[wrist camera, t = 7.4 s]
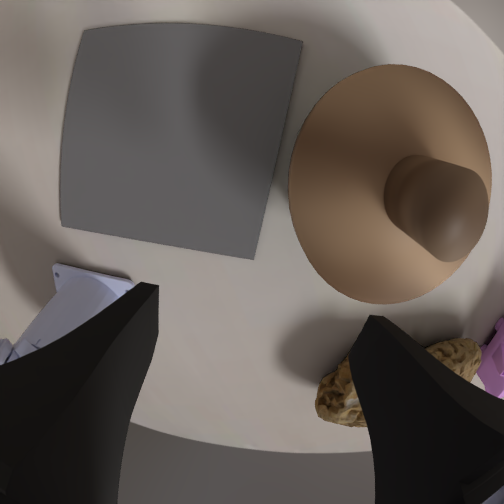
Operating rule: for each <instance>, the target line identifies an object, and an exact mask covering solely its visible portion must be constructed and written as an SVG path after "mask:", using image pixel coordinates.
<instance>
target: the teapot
mask: <svg viewBox="0 0 504 504" xmlns="http://www.w3.org/2000/svg"><path fill="white" fill-rule="evenodd" d="M495 329H496V331H497V333H496V334H495V336H494V337H493V339H492V340H491V342H490V343H489V345H488V346H487V345H486V344H485V345H483V346H481V347H480V349H481V352H482V355H481V360H482V361H481V364H480V366H479V367H478V370H477V371H476V373H477V375H478V376H479V378H480V379H481V381H482V382H483V384H484V385H485V391H486V392H488V393H490V394H492V395H494V396H496V397H498V398H501V397H504V319H503V318H500V319H499V320H498V322H497V323H496V325H495Z"/></svg>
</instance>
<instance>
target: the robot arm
mask: <svg viewBox="0 0 504 504" xmlns="http://www.w3.org/2000/svg"><path fill="white" fill-rule="evenodd" d="M52 270H53V276H54V281H55V287H56V292H57V293H56V294H55V295H54V296H53V297H52V298H51V300H50V301H49V302H48V303H47V304H46V305H45V307H44V308H43V309H42V310H41V311H40V313H39V314H38V315H37V316H36V317H35V319H34V320H33V321H32V322H31V324H30V325H29V326H28V327H27V329H26V330H25V331H24V333H23V334H22V335H21V337H20V338H19V339H18V340H17V342H16V343H15V344H14V345H12V343H11V342H10V341H9V340H8V339H7V338H5V339H0V504H117V499H118V488H119V478H120V470H121V462H122V457H123V451H124V446H125V440H126V435H127V431H128V426H129V422H130V419H131V415H132V412H133V409H134V406H135V403H136V401H137V398H138V395H139V392H140V390H141V387H142V384H143V382H144V379H145V376H146V374H147V371H148V368H149V366H150V363H151V360H152V357H153V353H154V349H155V345H156V341H157V337H158V334H159V330H158V308H159V285H155V284H150V283H145V282H140V283H139V284H137V285H136V286H134V283H133V282H132V281H131V280H129V279H124V278H120V277H115V276H110V275H106V274H101V273H97V272H93V271H88V270H84V269H80V268H76V267H72V266H68V265H64V264H60V263H55V264H54V265H53V267H52ZM58 274H59V275H58ZM127 290H129V291H127ZM348 360H349V366H350V371H351V376H352V381H353V384H354V387H355V390H356V393H357V396H358V399H359V402H360V405H361V408H362V412H363V415H364V418H365V421H366V424H367V427H368V431H369V435H370V440H371V446H372V453H373V459H374V471H375V504H504V400H503V399H500V398H498V397H496V396H494V395H492V394H490V393H488V392H486V391H484V390H482V389H480V388H478V387H477V386H475V385H473V384H472V383H470V382H468V381H467V380H465V379H464V378H462V377H461V376H459V375H458V374H456V373H455V372H453V371H452V370H451V369H449V368H448V367H447V366H445V365H444V364H443V363H442V362H440V361H439V360H438V359H436V358H435V357H434V356H433V355H431V354H430V353H429V352H428V351H427V350H425V349H424V348H423V347H422V346H421V345H419V344H418V343H417V342H416V341H415V340H413V339H412V338H411V337H410V336H409V335H407V334H406V333H405V332H404V331H403V330H401V329H400V328H399V327H398V326H396V325H395V324H394V323H392V322H391V321H390V320H388V319H387V318H385V317H383V316H375V315H369V317H368V319H367V321H366V323H365V325H364V327H363V329H362V331H361V333H360V334H359V336H358V338H357V340H356V342H355V344H354V345H353V347H352V349H351V351H350V353H349V354H348Z"/></svg>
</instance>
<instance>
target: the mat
mask: <svg viewBox="0 0 504 504" xmlns="http://www.w3.org/2000/svg"><path fill="white" fill-rule="evenodd" d="M302 43H303V41H300V40H296V39H292V38H288V37H283V36H279V35H274V34H270V33H265V32H259V31H254V30H247V29H241V28H234V27H226V26H216V25H204V24H186V23H150V24H132V25H121V26H112V27H104V28H97V29H91V30H85V31H84V33H83V37H82V40H81V43H80V47H79V50H78V54H77V58H76V62H75V66H74V70H73V75H72V79H71V84H70V89H69V95H68V101H67V107H66V114H65V122H64V131H63V141H62V154H61V180H60V198H61V224H62V226H63V227H68V228H73V229H79V230H84V231H90V232H95V233H101V234H107V235H112V236H118V237H123V238H129V239H135V240H140V241H146V242H152V243H157V244H163V245H169V246H175V247H180V248H186V249H192V250H198V251H204V252H209V253H215V254H221V255H227V256H233V257H239V258H245V259H251V260H254V256H255V252H256V248H257V243H258V239H259V235H260V230H261V226H262V221H263V217H264V213H265V208H266V204H267V199H268V195H269V191H270V186H271V182H272V177H273V173H274V169H275V164H276V160H277V155H278V151H279V146H280V142H281V137H282V133H283V129H284V124H285V120H286V115H287V111H288V106H289V102H290V97H291V93H292V88H293V84H294V79H295V75H296V70H297V66H298V61H299V57H300V52H301V48H302Z"/></svg>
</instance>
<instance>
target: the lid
mask: <svg viewBox="0 0 504 504" xmlns="http://www.w3.org/2000/svg"><path fill="white" fill-rule="evenodd" d="M491 186H492V172H491V162H490V155H489V150H488V146H487V142H486V139H485V136H484V133H483V131H482V128H481V126H480V124H479V122H478V120H477V118H476V116H475V114H474V113H473V111H472V109H471V108H470V106H469V105H468V104H467V103H466V101H465V100H464V99H463V97H462V96H461V95H460V94H459V93H458V92H457V91H456V90H455V89H454V88H453V87H451V86H450V85H449V84H448V83H446V82H445V81H444V80H442V79H441V78H439V77H437V76H435V75H434V74H432V73H430V72H428V71H425V70H422V69H420V68H417V67H412V66H407V65H395V64H388V65H381V66H375V67H371V68H368V69H365V70H362V71H360V72H357V73H355V74H352V75H351V76H349V77H347V78H345V79H344V80H342V81H340V82H338V83H337V84H336V85H335V86H333V87H332V88H331V89H330V90H329V91H327V92H326V93H325V94H324V95H323V96H322V98H321V99H320V100H319V101H318V102H317V103H316V104H315V106H314V107H313V109H312V110H311V112H310V113H309V115H308V116H307V118H306V119H305V121H304V123H303V125H302V128H301V130H300V132H299V134H298V136H297V139H296V142H295V146H294V149H293V152H292V156H291V162H290V168H289V178H288V197H289V209H290V213H291V218H292V222H293V226H294V229H295V232H296V235H297V237H298V240H299V242H300V244H301V247H302V248H303V250H304V252H305V254H306V256H307V258H308V260H309V262H310V263H311V264H312V266H313V267H314V269H315V270H316V271H317V273H318V274H319V275H320V276H321V277H322V278H323V279H324V280H325V281H326V282H327V283H328V284H329V285H330V286H332V287H333V288H334V289H336V290H337V291H338V292H340V293H342V294H344V295H346V296H348V297H350V298H353V299H355V300H358V301H361V302H366V303H371V304H394V303H400V302H404V301H409V300H411V299H414V298H417V297H420V296H422V295H424V294H426V293H428V292H429V291H431V290H433V289H434V288H436V287H437V286H439V285H440V284H442V283H443V282H444V281H445V280H446V279H448V278H449V277H450V276H451V275H452V274H453V273H454V272H455V271H456V270H457V269H458V268H459V267H460V265H461V264H462V263H463V262H464V260H465V259H466V258H467V256H468V255H469V253H470V252H471V250H472V249H473V248H474V247H475V245H476V244H477V243H478V241H479V239H480V237H481V236H482V233H483V231H484V229H485V225H486V222H487V218H488V209H489V203H490V197H491Z"/></svg>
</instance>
